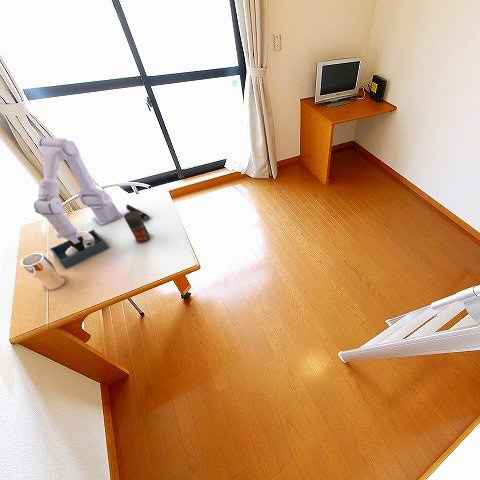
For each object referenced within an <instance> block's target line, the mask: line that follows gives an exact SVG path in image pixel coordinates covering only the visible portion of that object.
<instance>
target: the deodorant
mask: <svg viewBox="0 0 480 480" xmlns="http://www.w3.org/2000/svg"><path fill="white" fill-rule="evenodd" d="M123 217H124V218H123V219H124V220H125V222H126V224H127V226H128V227H129V229H130V231H131V233H132V235H133V237H134V239H135V241H136V242H137V243H138V244H145V243H148V242H149V241H150V240H151V235H150V233H149V231H148V229H147V227H146V225H145V223H144V221H143V220H142V219H141V216H140V214H139V213H138V212H137V211H131V212H130V211H128V212H126V213H125V214H124V215H123Z"/></svg>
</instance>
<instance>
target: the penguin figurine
mask: <svg viewBox="0 0 480 480" xmlns="http://www.w3.org/2000/svg"><path fill="white" fill-rule="evenodd" d="M88 232H89V231H86V230H80V231H79V232H78V231H77V238H78V237H81V236H82V237H83V245H84V247H85V249H87V248H89V247H91V246H93V245H95V240H94V237H93V236H92V235H91V234H90V233H88ZM89 243H90V245H87V244H89ZM78 252H79V251H78V250H77V249H75V248H74V247H72V246H70V248H68V249H67V251H66V252H65V253H66V255H67V256H68V257H70V256H72V255H74V254H76V253H78Z"/></svg>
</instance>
